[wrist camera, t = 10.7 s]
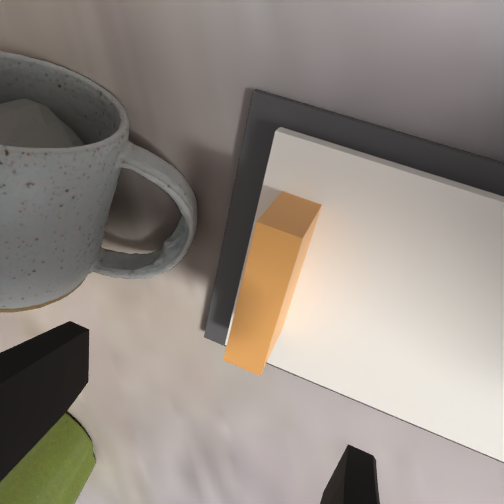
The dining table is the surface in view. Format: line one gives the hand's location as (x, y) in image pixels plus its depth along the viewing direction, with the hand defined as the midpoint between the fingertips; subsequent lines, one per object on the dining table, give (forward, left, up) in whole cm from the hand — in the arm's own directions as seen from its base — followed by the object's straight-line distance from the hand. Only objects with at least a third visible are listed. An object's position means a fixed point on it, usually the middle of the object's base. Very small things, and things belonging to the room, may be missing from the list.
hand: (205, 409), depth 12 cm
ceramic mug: (+10, -1, -9) cm, 13 cm away
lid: (-5, 0, -8) cm, 10 cm away
